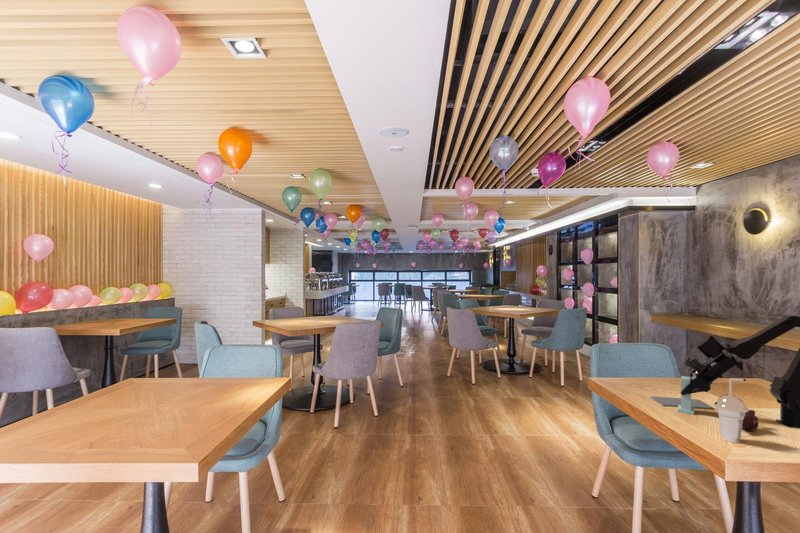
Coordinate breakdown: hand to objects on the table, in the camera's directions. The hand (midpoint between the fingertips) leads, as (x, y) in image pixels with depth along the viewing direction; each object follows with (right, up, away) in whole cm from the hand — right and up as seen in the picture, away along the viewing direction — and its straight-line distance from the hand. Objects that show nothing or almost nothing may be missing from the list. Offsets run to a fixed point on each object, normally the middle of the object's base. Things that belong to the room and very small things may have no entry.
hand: (681, 392), depth 161 cm
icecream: (+8, -7, -20) cm, 23 cm away
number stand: (+1, -7, -1) cm, 7 cm away
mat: (+6, -7, +9) cm, 13 cm away
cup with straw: (-5, -6, -30) cm, 31 cm away
